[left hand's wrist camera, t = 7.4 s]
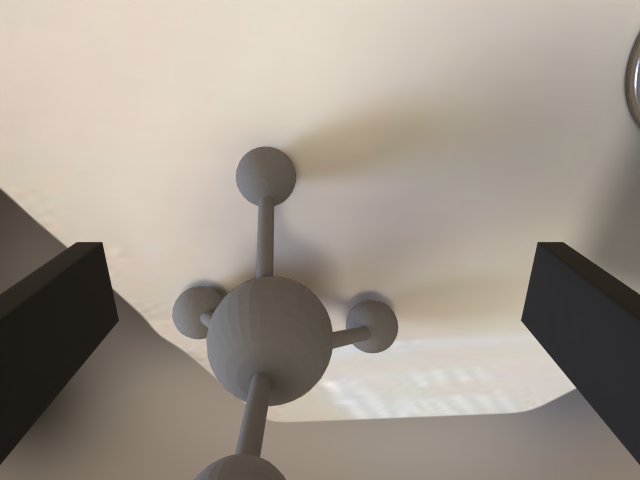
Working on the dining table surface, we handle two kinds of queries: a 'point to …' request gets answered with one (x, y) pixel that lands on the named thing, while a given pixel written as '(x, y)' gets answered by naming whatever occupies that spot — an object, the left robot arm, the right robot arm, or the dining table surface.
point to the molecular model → (270, 326)
